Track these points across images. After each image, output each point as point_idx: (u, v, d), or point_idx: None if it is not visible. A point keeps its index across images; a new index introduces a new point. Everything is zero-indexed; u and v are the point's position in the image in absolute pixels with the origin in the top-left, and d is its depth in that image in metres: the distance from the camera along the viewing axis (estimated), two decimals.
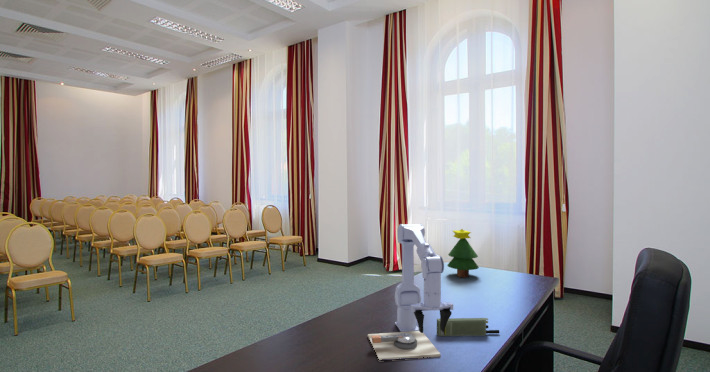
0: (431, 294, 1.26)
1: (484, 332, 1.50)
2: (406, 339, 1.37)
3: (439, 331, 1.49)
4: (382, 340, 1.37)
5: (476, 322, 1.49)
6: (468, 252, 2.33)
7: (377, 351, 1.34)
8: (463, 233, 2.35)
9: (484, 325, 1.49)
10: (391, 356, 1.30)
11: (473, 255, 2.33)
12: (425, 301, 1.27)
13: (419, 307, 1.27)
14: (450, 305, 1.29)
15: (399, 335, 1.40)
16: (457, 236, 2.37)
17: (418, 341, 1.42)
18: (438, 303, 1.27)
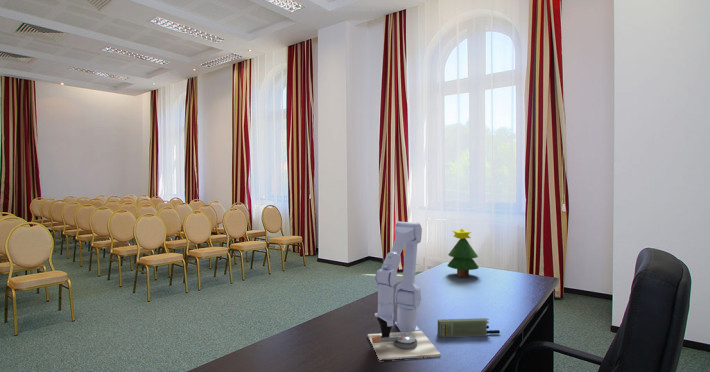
0: None
1: (485, 332, 1.49)
2: (406, 339, 1.37)
3: (440, 332, 1.48)
4: (382, 340, 1.37)
5: (477, 323, 1.49)
6: (468, 252, 2.33)
7: (377, 351, 1.34)
8: (463, 233, 2.35)
9: (485, 325, 1.49)
10: (391, 356, 1.30)
11: (473, 255, 2.33)
12: None
13: None
14: (386, 320, 1.33)
15: (399, 335, 1.40)
16: (457, 236, 2.37)
17: (418, 341, 1.42)
18: (379, 312, 1.38)
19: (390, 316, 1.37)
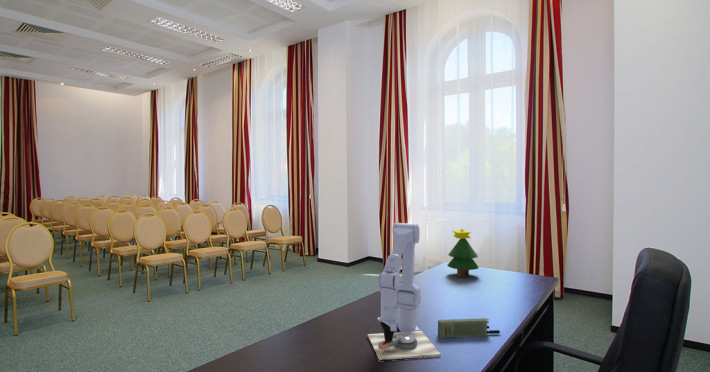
0: None
1: (485, 332, 1.49)
2: (409, 339, 1.37)
3: (440, 332, 1.47)
4: (389, 345, 1.33)
5: (477, 323, 1.49)
6: (468, 252, 2.33)
7: (377, 351, 1.34)
8: (463, 233, 2.35)
9: (485, 325, 1.49)
10: (391, 356, 1.30)
11: (473, 255, 2.33)
12: None
13: None
14: (390, 325, 1.30)
15: (398, 336, 1.39)
16: (457, 236, 2.37)
17: (418, 341, 1.42)
18: (382, 316, 1.34)
19: (393, 320, 1.33)
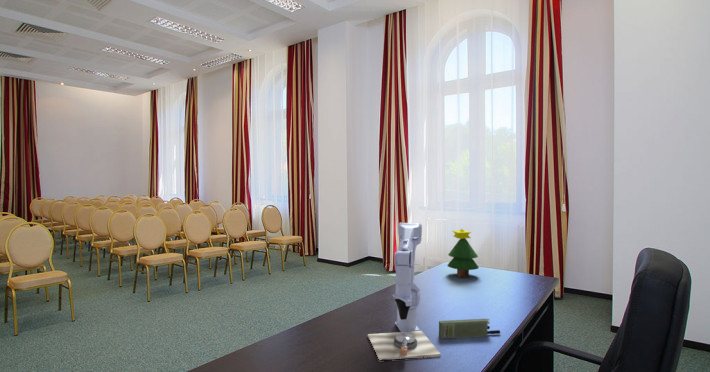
0: None
1: (486, 333, 1.49)
2: (411, 337, 1.38)
3: (442, 333, 1.46)
4: None
5: (478, 323, 1.48)
6: (468, 252, 2.33)
7: (377, 351, 1.34)
8: (463, 233, 2.35)
9: (486, 326, 1.49)
10: (391, 356, 1.30)
11: (473, 255, 2.33)
12: None
13: None
14: (405, 300, 1.35)
15: (400, 338, 1.38)
16: (457, 236, 2.37)
17: (418, 341, 1.42)
18: (397, 293, 1.40)
19: (408, 297, 1.39)
